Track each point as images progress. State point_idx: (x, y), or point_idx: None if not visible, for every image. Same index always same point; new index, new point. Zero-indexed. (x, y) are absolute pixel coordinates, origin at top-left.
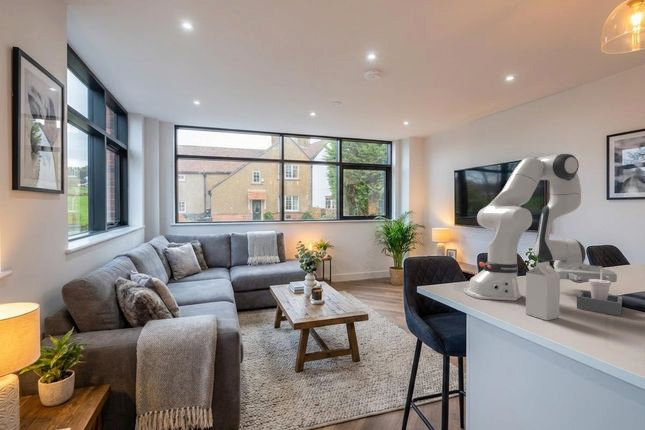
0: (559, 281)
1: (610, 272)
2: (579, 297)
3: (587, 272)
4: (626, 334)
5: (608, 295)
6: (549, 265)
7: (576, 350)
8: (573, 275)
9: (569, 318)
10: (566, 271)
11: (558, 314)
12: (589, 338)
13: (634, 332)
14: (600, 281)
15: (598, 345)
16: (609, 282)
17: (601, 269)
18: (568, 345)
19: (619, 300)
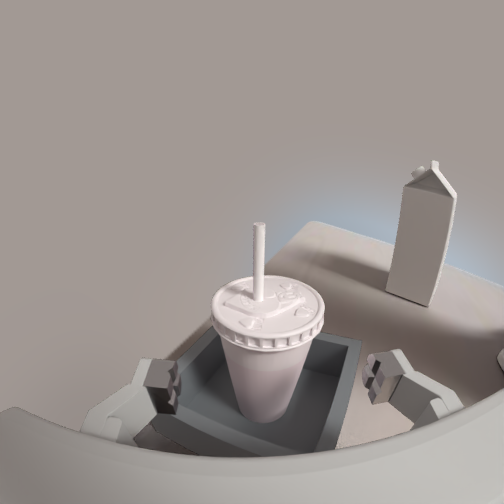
0: (401, 203)
1: (2, 448)
2: (352, 341)
3: (291, 456)
4: (283, 265)
5: (195, 412)
6: (429, 169)
7: (353, 232)
8: (418, 377)
9: (367, 296)
10: (484, 399)
11: (387, 282)
12: (339, 248)
13: (264, 272)
14: (270, 289)
15: (331, 240)
16: (231, 282)
17: (259, 224)
18: (360, 236)
19: (206, 338)
